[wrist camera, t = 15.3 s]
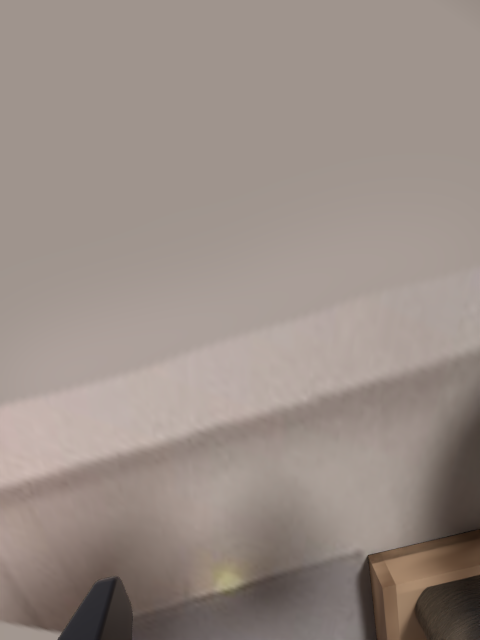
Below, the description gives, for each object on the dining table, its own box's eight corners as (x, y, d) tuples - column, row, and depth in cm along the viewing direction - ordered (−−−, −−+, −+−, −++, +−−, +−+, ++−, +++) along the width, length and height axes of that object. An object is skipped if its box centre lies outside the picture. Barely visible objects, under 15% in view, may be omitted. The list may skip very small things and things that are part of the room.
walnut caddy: (529, 518, 27) (556, 546, 25) (520, 628, 31) (544, 661, 29) (367, 555, 27) (382, 587, 25) (379, 662, 30) (392, 698, 28)
